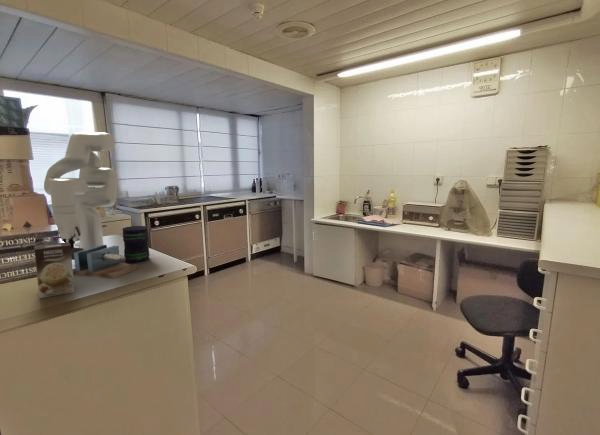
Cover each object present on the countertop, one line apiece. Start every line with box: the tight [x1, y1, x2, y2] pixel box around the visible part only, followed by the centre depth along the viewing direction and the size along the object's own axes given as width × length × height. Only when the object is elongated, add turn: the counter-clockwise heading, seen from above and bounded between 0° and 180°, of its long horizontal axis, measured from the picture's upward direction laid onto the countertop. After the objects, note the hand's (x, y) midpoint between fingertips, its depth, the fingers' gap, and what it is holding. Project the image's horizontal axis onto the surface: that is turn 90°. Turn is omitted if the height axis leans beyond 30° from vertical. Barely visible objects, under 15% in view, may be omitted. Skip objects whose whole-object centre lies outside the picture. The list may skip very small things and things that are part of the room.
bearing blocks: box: [73, 244, 121, 273], centre depth 118 cm, size 8×13×7 cm, turn 168°
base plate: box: [73, 262, 138, 279], centre depth 118 cm, size 20×12×2 cm, turn 78°
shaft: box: [71, 247, 123, 262], centre depth 118 cm, size 22×5×5 cm, turn 78°
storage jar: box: [122, 225, 150, 265], centre depth 131 cm, size 10×10×15 cm
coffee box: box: [33, 242, 76, 299], centre depth 96 cm, size 9×6×16 cm
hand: (69, 254), depth 121 cm, fingers closed
